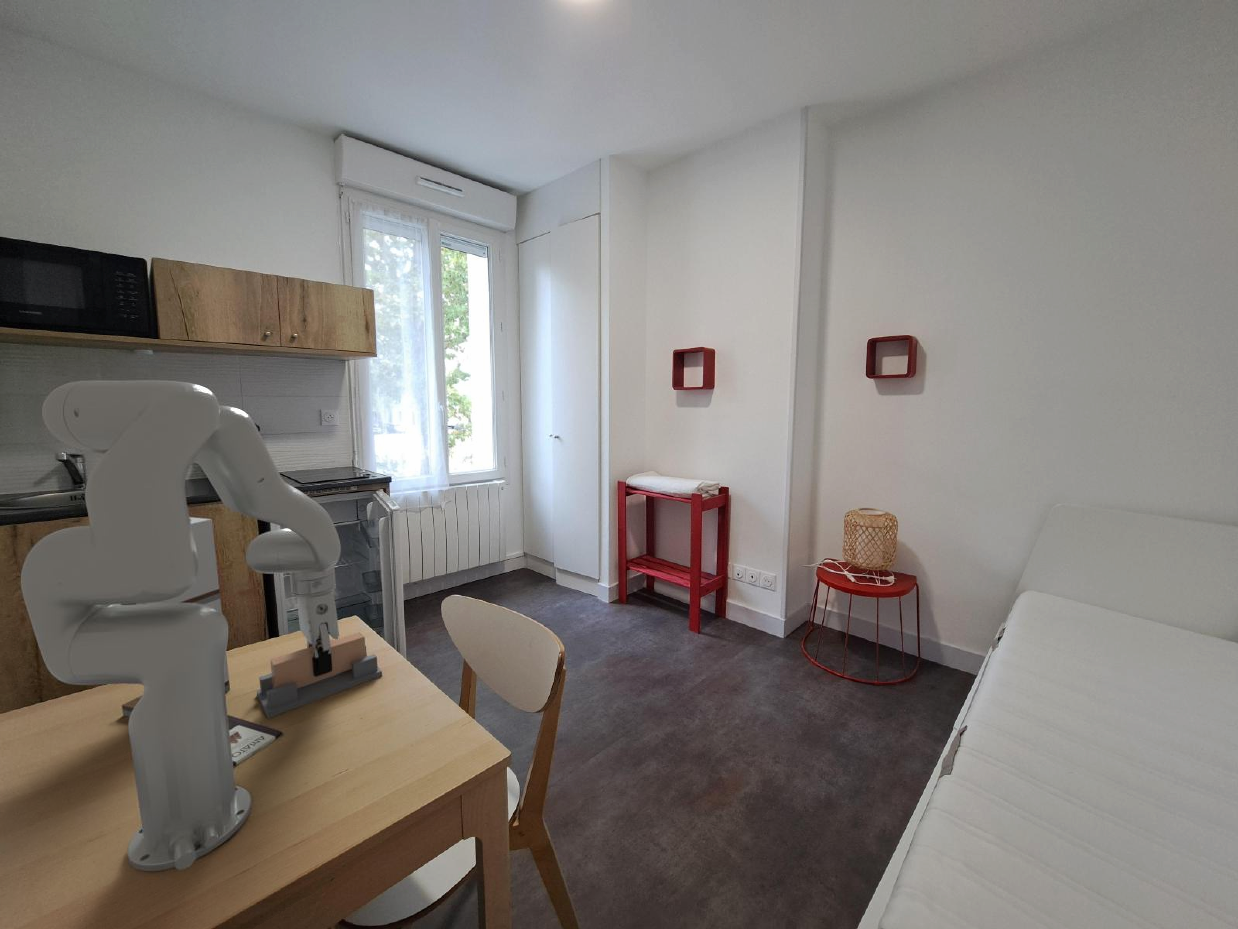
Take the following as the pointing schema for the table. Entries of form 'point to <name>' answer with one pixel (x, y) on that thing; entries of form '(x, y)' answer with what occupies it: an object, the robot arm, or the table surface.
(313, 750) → the table surface
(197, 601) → the white open storage bin
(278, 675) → the clay bar
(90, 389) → the robot arm
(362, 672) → the grey slotted stand
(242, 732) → the chocolate bar
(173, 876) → the table surface
